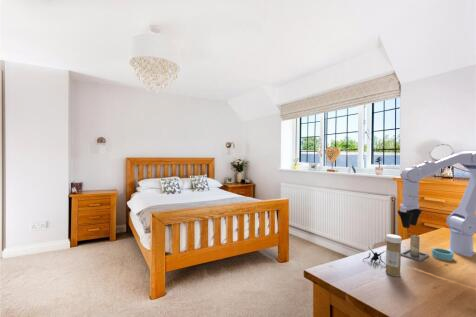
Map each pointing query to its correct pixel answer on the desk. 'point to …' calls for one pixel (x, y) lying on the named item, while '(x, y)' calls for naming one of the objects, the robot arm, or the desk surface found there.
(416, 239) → the pin
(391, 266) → the sprinkles bottle
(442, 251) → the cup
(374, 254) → the creature
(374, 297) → the desk surface
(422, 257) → the tray
